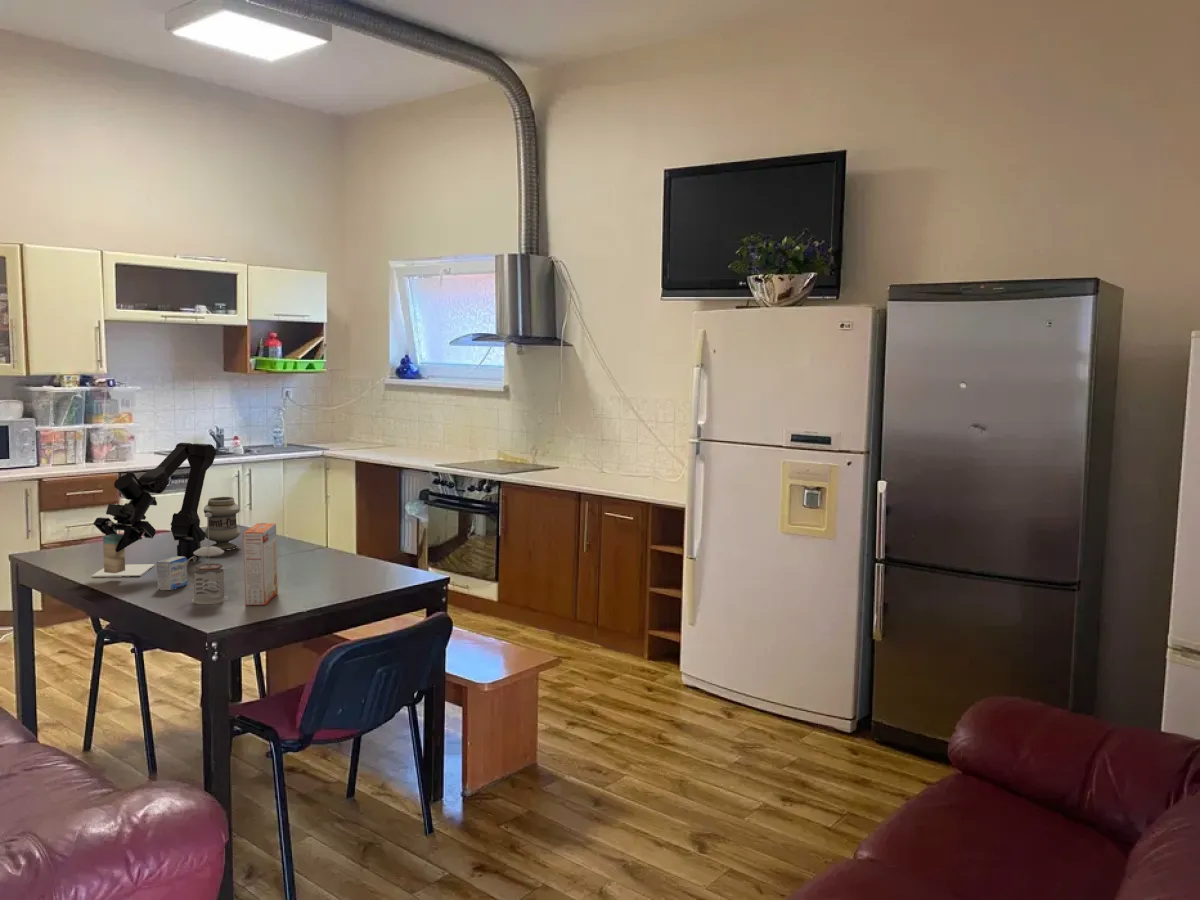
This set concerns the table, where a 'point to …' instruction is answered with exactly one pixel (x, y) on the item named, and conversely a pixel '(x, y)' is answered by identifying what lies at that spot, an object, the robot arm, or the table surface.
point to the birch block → (113, 554)
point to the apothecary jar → (222, 522)
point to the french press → (208, 576)
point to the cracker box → (260, 563)
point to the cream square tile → (126, 571)
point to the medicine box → (171, 573)
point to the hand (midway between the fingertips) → (110, 550)
